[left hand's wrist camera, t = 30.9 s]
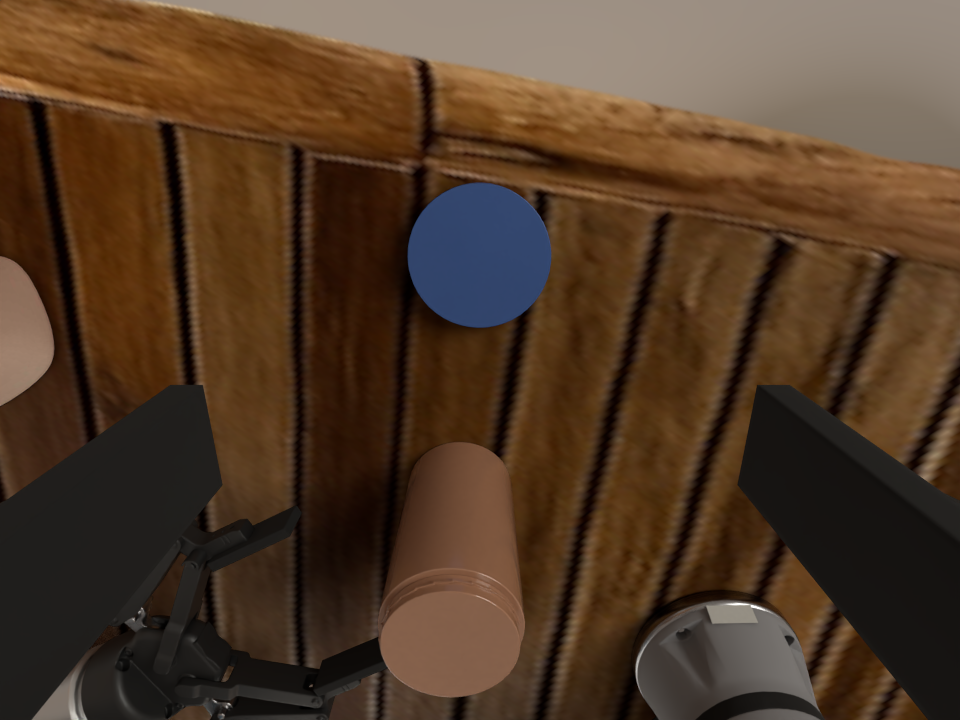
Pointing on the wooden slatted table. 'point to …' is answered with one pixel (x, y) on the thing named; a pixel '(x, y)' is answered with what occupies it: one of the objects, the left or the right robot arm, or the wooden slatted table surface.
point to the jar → (454, 576)
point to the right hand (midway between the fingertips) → (344, 587)
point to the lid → (479, 255)
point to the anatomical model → (21, 332)
